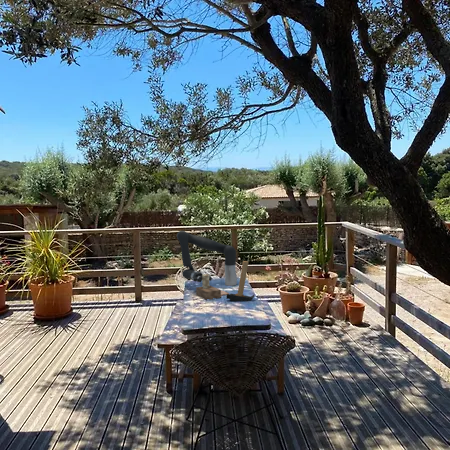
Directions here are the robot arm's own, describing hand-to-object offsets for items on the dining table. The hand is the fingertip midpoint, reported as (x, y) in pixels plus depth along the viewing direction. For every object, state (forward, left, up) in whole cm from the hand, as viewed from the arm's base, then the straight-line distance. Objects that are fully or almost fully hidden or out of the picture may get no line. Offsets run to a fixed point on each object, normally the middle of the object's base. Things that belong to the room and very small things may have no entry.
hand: (205, 280), depth 329 cm
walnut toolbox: (0, +4, -12) cm, 13 cm away
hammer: (-14, +28, -12) cm, 33 cm away
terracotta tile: (-12, +2, -12) cm, 17 cm away
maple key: (0, 0, -12) cm, 12 cm away
